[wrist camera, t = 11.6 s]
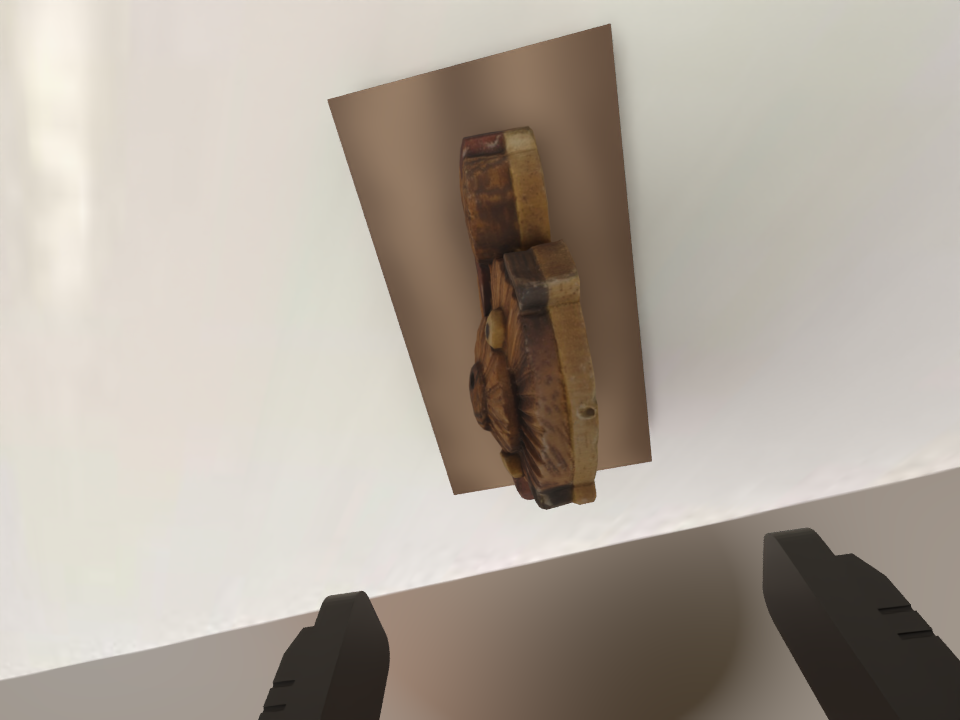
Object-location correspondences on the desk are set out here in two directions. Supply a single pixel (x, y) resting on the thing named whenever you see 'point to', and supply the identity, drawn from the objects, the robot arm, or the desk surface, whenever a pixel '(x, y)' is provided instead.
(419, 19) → the desk surface
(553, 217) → the walnut plinth
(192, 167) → the desk surface
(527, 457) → the wooden carving
